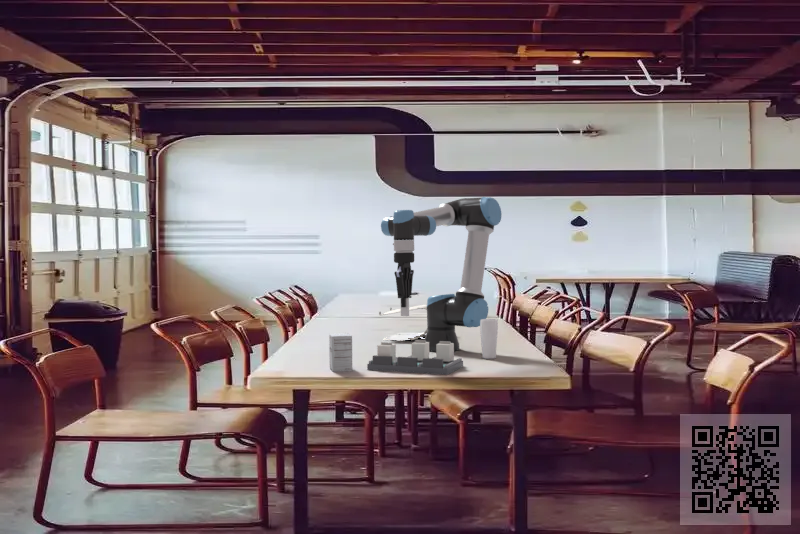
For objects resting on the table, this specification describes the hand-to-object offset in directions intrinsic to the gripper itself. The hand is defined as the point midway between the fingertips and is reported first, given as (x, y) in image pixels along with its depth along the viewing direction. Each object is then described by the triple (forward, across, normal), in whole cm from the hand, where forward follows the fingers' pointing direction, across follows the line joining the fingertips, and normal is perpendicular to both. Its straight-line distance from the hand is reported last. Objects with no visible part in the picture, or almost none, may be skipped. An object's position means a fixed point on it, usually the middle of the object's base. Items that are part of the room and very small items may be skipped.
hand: (404, 315), depth 277 cm
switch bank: (+18, +6, +6) cm, 20 cm away
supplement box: (+18, +18, -17) cm, 31 cm away
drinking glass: (+19, -25, +25) cm, 39 cm away
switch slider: (+16, +1, +16) cm, 22 cm away
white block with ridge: (+16, +1, +6) cm, 17 cm away
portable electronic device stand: (+19, -71, -28) cm, 78 cm away
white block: (+16, +10, -3) cm, 19 cm away
